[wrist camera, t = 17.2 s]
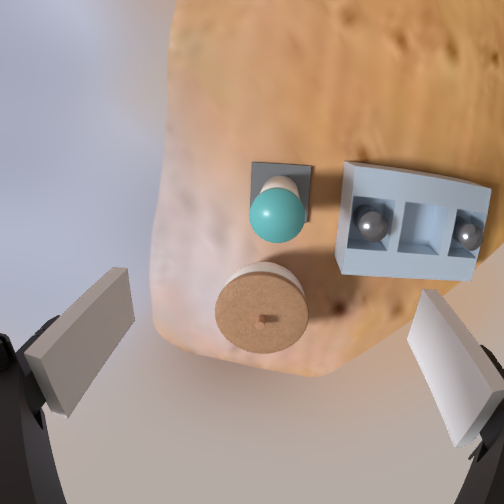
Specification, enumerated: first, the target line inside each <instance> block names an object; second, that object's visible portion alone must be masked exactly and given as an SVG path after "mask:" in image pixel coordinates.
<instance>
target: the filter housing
mask: <svg viewBox="0 0 504 504" xmlns="http://www.w3.org/2000/svg"><path fill="white" fill-rule="evenodd" d="M491 190H492V189H490V188H487V187H485V186H482V185H479V184H477V183H474V182H471V181H468V180H463V179H459V178H454V177H448V176H443V175H438V174H432V173H427V172H421V171H415V170H409V169H402V168H396V167H389V166H382V165H374V164H366V163H358V162H350V161H344V172H343V183H342V193H341V203H340V212H339V221H338V229H337V237H336V245H335V252H334V256H335V258H336V261H337V263H338V266H339V268H340V271H341V274H344V275H361V276H378V277H396V278H414V279H434V280H455V281H471V279H472V276H473V272H474V269H475V265H476V262H477V258H478V254H479V250H480V247H479V248H478V249H476V250H474V251H469V250H467V249H466V248H465V247H463V246H462V245H461V244H459V243H458V242H457V241H455V240H454V239H453V238H452V234H453V229H454V224H455V219H456V216H460V217H462V218H464V219H466V220H467V221H469V222H471V223H473V224H474V225H476V226H478V227H479V228H480V229H481V230H482V232H483V233H484V228H485V223H486V219H487V213H488V208H489V202H490V196H491ZM364 204H366V205H370V206H372V207H373V208H374V209H375V210H376V211H378V212H379V213H380V214H381V215H382V216H383V217H384V218H385V219H386V220H387V222H388V232H387V235H386V236H385V237H384V238H383V239H382V240H381V241H378V242H369V241H367V240H366V239H365V238H364V237H363V235H362V234H361V233H360V231H359V230H358V229H357V227H356V226H355V224H354V223H353V219H352V216H353V212H354V210H355V209H356V208H357V207H358V206H360V205H364ZM480 246H481V245H480Z"/></svg>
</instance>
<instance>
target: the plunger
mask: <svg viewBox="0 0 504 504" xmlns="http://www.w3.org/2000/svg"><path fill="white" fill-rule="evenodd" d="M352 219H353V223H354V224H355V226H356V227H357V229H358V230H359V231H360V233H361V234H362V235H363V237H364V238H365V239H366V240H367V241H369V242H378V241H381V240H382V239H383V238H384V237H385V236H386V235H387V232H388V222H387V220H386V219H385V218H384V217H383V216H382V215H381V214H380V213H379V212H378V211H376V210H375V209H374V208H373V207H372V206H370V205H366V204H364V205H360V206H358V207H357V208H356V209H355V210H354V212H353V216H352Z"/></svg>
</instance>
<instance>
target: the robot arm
mask: <svg viewBox="0 0 504 504" xmlns="http://www.w3.org/2000/svg"><path fill="white" fill-rule="evenodd" d="M134 321H135V317H134V311H133V305H132V298H131V291H130V284H129V277H128V269H127V268H117V267H113V268H111V269H110V270H109V271H108V272H107V273H106V274H105V275H104V276H103V277H101V278H100V279H99V280H98V281H97V282H96V283H95V284H94V285H93V286H91V288H89V289H88V290H87V291H86V292H85V293H84V294H83V295H82V296H81V297H80V298H79V299H78V300H76V301H75V302H74V303H73V304H72V305H71V306H70V307H69V308H68V309H67V310H66V311H65V312H64V313H63V314H62V315H61V316H60V315H58V316H56V317H54V318H52V319H50V320H48V321H47V322H46V323H45V324H44V325H43V326H42V327H41V328H40V330H38V331H37V332H36V333H35V335H34V336H32V337H31V338H30V339H29V340H28V341H27V342H26V343H25V344H24V345H23V346H22V347H21V348H20V349H19V350H18V351H17V352H16V353H15V351H14V349H13V346H12V344H11V341H10V339H9V337H8V336H7V335H6V334H2V333H0V504H67V503H66V500H65V497H64V494H63V491H62V487H61V484H60V481H59V477H58V474H57V470H56V466H55V462H54V458H53V454H52V450H51V445H50V441H49V436H48V431H47V426H46V420H45V415H44V412H43V410H42V408H41V407H42V406H43V404H44V403H45V402H47V404H48V406H49V408H50V410H51V412H52V413H55V414H57V415H60V416H62V417H65V418H67V419H68V418H69V417H70V415H71V413H72V412H73V410H74V409H75V407H76V406H77V404H78V403H79V401H80V400H81V398H82V396H83V395H84V393H85V392H86V390H87V389H88V387H89V386H90V384H91V383H92V381H93V380H94V378H95V377H96V376H97V374H98V372H99V371H100V370H101V368H102V367H103V365H104V364H105V362H106V361H107V359H108V358H109V356H110V355H111V354H112V352H113V351H114V349H115V348H116V346H117V345H118V343H119V342H120V341H121V339H122V338H123V336H124V335H125V333H126V332H127V331H128V329H129V328H130V327H131V325H132V324H133V322H134ZM407 341H408V343H409V345H410V347H411V349H412V351H413V353H414V355H415V357H416V359H417V362H418V364H419V366H420V368H421V370H422V372H423V374H424V377H425V379H426V381H427V383H428V385H429V387H430V390H431V392H432V394H433V397H434V399H435V401H436V403H437V406H438V408H439V410H440V413H441V415H442V417H443V420H444V422H445V425H446V427H447V430H448V432H449V435H450V437H451V440H452V443H453V445H454V448H457V447H462V446H466V445H470V444H472V443H473V441H474V440H475V439H476V437H477V436H478V434H479V433H480V435H481V437H482V441H481V443H480V444H479V445H478V447H477V448H476V449H475V450H474V452H473V453H472V454H471V455H470V457H469V458H468V459H469V460H470V459H471V458H472V457H473V456H474V459H473V462H472V464H471V467H470V470H469V472H468V474H467V477H466V479H465V482H464V484H463V486H462V488H461V491H460V493H459V495H458V497H457V499H456V501H455V503H454V504H504V369H502V366H501V365H500V364H499V362H497V359H496V358H495V356H494V355H493V354H492V352H491V351H489V350H488V349H487V348H486V347H484V346H483V345H479V344H478V342H477V341H476V339H475V338H474V337H473V336H472V334H471V333H470V331H469V330H468V329H467V328H466V326H465V325H464V323H463V322H462V321H461V320H460V318H459V317H458V316H457V314H456V313H455V312H454V311H453V309H452V308H451V307H450V306H449V304H448V303H447V302H446V301H445V299H444V298H443V297H442V296H441V295H440V293H439V292H438V291H437V290H432V289H422V293H421V296H420V300H419V303H418V307H417V310H416V313H415V317H414V320H413V323H412V326H411V329H410V332H409V335H408V338H407Z"/></svg>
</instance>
